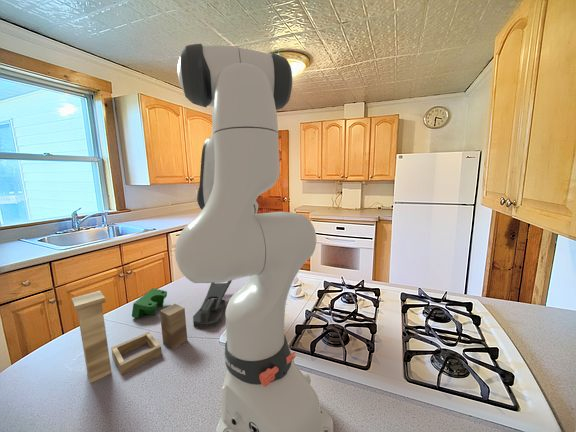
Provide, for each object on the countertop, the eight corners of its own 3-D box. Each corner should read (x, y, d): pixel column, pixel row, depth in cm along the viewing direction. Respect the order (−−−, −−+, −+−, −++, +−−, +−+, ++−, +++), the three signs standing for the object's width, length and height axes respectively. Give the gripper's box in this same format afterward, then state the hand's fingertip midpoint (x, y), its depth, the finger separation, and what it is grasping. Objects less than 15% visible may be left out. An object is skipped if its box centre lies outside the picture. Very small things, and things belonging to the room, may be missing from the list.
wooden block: (187, 340, 70) (184, 308, 69) (172, 350, 67) (169, 315, 65) (177, 335, 73) (175, 303, 71) (163, 344, 69) (159, 310, 68)
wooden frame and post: (161, 354, 65) (154, 285, 62) (89, 391, 54) (76, 309, 51) (149, 339, 71) (142, 276, 68) (82, 369, 60) (70, 295, 57)
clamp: (151, 328, 84) (148, 312, 79) (133, 324, 84) (129, 308, 79) (169, 299, 94) (167, 283, 89) (153, 296, 94) (151, 279, 89)
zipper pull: (234, 275, 100) (217, 308, 75) (235, 291, 101) (218, 328, 76) (212, 276, 100) (187, 309, 75) (213, 291, 101) (189, 329, 76)
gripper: (203, 229, 87) (180, 264, 81) (246, 236, 76) (223, 278, 70) (213, 239, 92) (193, 272, 85) (256, 247, 81) (236, 287, 74)
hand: (207, 275), depth 77 cm, fingers open, 8 cm apart
